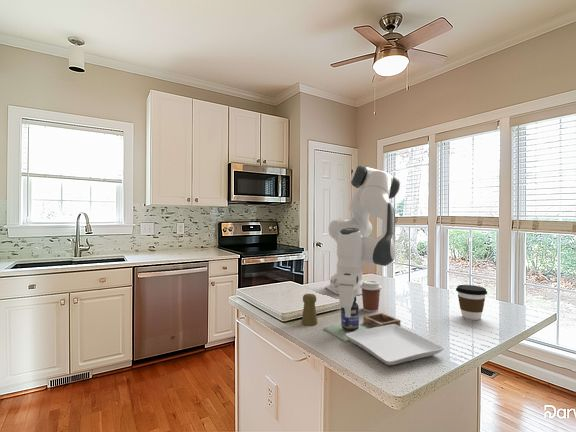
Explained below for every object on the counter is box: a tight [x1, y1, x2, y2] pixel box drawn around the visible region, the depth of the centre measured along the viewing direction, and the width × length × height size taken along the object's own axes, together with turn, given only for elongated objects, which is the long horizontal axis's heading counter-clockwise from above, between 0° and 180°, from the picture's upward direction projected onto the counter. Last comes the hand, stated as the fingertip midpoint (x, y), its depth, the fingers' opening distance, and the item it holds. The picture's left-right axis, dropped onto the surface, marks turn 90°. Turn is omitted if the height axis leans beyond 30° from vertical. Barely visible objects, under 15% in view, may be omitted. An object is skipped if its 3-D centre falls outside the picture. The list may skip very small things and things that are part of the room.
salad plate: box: [345, 324, 444, 366], centre depth 96 cm, size 21×21×3 cm
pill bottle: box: [340, 295, 360, 331], centre depth 110 cm, size 6×6×11 cm
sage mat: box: [323, 323, 368, 343], centre depth 110 cm, size 13×13×1 cm
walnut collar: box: [362, 312, 401, 328], centre depth 116 cm, size 9×9×2 cm
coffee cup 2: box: [455, 284, 488, 321], centre depth 124 cm, size 11×11×12 cm
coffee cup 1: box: [360, 279, 382, 313], centre depth 135 cm, size 9×9×12 cm
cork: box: [301, 293, 318, 327], centre depth 119 cm, size 6×6×11 cm
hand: (349, 313), depth 110 cm, fingers closed on pill bottle, 6 cm apart
